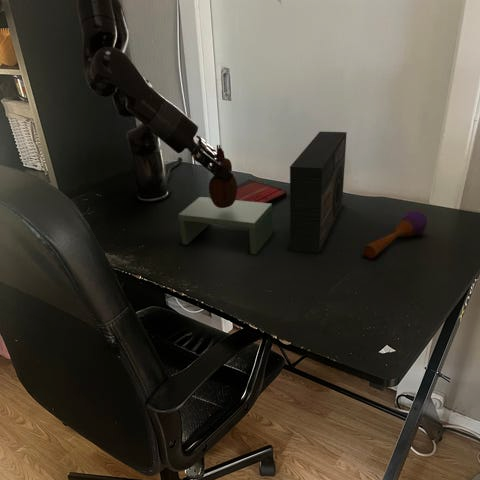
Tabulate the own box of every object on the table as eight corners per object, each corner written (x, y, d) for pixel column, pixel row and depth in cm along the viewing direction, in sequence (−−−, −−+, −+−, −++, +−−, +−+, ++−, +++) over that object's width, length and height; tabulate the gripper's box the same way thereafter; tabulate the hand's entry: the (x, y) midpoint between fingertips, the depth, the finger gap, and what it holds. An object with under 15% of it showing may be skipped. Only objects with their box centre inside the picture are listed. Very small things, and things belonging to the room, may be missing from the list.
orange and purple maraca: (357, 238, 110) (409, 205, 119) (360, 261, 112) (410, 228, 122) (378, 241, 105) (431, 207, 114) (381, 265, 108) (432, 231, 117)
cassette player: (319, 253, 113) (321, 168, 102) (290, 250, 116) (289, 166, 104) (342, 206, 135) (346, 132, 124) (317, 204, 138) (319, 131, 126)
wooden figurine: (224, 212, 114) (220, 148, 105) (206, 207, 117) (200, 144, 108) (242, 202, 118) (239, 140, 109) (224, 198, 121) (219, 136, 112)
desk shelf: (203, 225, 131) (200, 196, 126) (272, 233, 124) (272, 203, 119) (182, 244, 122) (178, 214, 117) (255, 254, 115) (254, 223, 110)
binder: (202, 199, 140) (248, 178, 153) (202, 206, 142) (248, 185, 154) (244, 213, 131) (289, 189, 144) (244, 221, 133) (289, 197, 145)
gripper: (183, 119, 99) (244, 171, 107) (181, 105, 111) (236, 153, 118) (161, 148, 102) (222, 197, 109) (161, 132, 113) (217, 177, 121)
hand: (229, 174), depth 114 cm, fingers closed on wooden figurine, 5 cm apart
